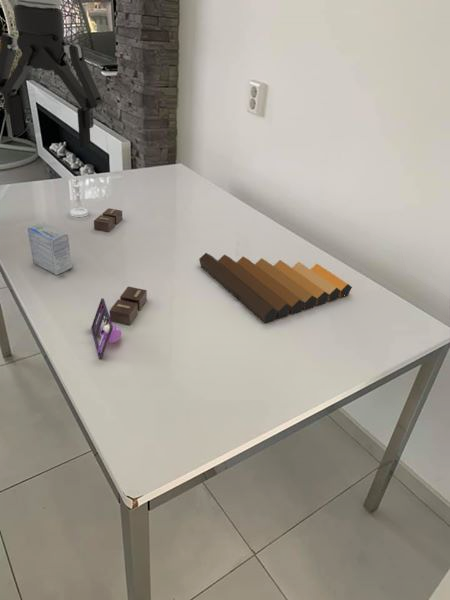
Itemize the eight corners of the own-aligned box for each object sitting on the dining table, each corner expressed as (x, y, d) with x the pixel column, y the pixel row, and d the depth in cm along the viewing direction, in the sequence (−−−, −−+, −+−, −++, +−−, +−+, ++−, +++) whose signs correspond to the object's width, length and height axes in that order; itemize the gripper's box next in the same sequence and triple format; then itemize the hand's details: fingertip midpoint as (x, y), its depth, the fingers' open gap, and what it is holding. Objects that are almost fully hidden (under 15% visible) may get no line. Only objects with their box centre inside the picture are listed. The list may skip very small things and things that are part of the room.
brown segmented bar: (109, 321, 86) (109, 309, 84) (128, 296, 93) (128, 285, 92) (129, 325, 85) (129, 314, 84) (146, 300, 92) (146, 289, 91)
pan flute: (198, 266, 106) (262, 324, 89) (199, 254, 104) (265, 310, 87) (280, 247, 118) (349, 294, 102) (282, 235, 117) (353, 282, 100)
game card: (97, 297, 80) (106, 327, 73) (125, 301, 83) (136, 330, 76) (86, 327, 83) (94, 359, 76) (114, 330, 85) (124, 361, 79)
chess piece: (92, 212, 125) (89, 177, 120) (80, 218, 121) (77, 182, 116) (78, 208, 127) (74, 173, 121) (65, 214, 123) (62, 178, 117)
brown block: (94, 229, 117) (93, 220, 115) (108, 216, 124) (108, 207, 123) (108, 232, 116) (108, 222, 115) (122, 219, 124) (122, 210, 122)
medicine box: (72, 268, 100) (69, 233, 95) (56, 276, 97) (51, 239, 92) (49, 256, 103) (44, 221, 98) (32, 263, 100) (26, 227, 95)
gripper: (119, 15, 74) (122, 145, 86) (-16, -4, 78) (4, 124, 89) (99, 15, 68) (104, 156, 80) (-48, -6, 71) (-22, 132, 83)
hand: (51, 139), depth 85 cm, fingers open, 13 cm apart
